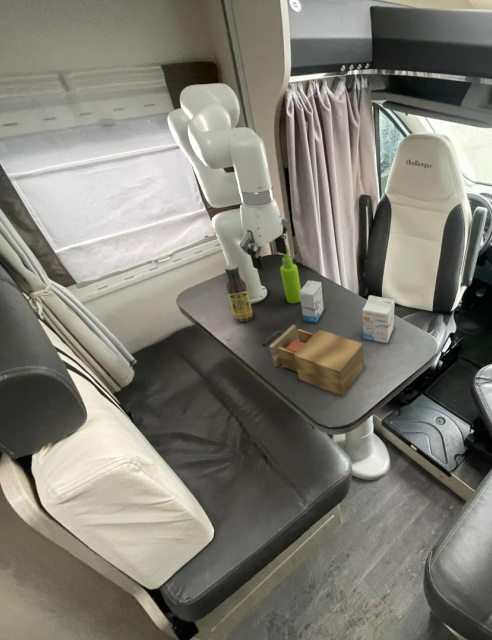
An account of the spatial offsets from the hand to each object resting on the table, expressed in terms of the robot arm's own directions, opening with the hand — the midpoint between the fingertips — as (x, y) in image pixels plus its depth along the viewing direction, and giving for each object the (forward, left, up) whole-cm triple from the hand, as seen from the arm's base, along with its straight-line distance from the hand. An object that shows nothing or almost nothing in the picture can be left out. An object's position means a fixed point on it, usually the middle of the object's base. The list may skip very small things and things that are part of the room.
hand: (270, 260), depth 98 cm
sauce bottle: (-22, +4, -29) cm, 36 cm away
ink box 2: (+24, +17, -29) cm, 42 cm away
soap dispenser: (-14, +22, -29) cm, 39 cm away
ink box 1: (-1, +16, -29) cm, 33 cm away
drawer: (+8, -6, -28) cm, 30 cm away
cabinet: (+20, -6, -29) cm, 36 cm away
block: (+9, -6, -27) cm, 29 cm away
